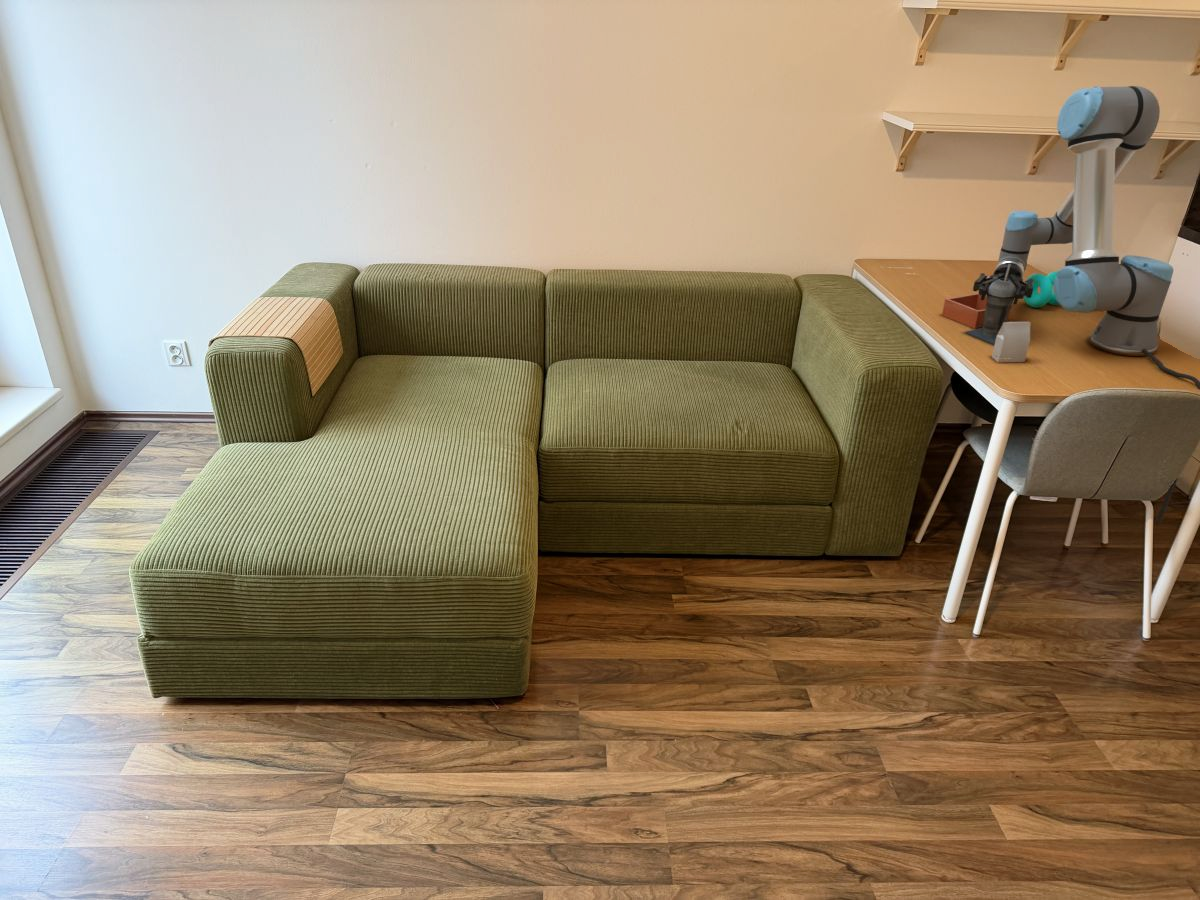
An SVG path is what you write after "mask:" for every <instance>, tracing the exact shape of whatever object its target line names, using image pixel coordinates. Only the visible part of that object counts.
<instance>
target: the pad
mask: <svg viewBox="0 0 1200 900" xmlns="http://www.w3.org/2000/svg"><path fill="white" fill-rule="evenodd" d="M965 334H966V335H969V336H971V337H973V338H975V339H978V340H980V341H982V342H985V343H988V344H990V345H993V346H994V345H995V341H996V337H995V338H994V337H987V336H985V335H983V327H981V328H976V329H971V330H967V331H965Z"/></svg>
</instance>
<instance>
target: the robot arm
mask: <svg viewBox="0 0 1200 900" xmlns="http://www.w3.org/2000/svg"><path fill="white" fill-rule="evenodd" d="M1160 109H1161V108H1160V103H1159V101H1158V99H1157V96H1156V95H1155V93H1154V92H1152V91H1151V90H1149V89H1147V88H1146V87H1143V86H1139V85H1129V86H1093V87H1086V88H1085V87H1084V88H1081V89H1077V90H1076V91H1074V92H1073V93H1071V95H1069V97H1068V98H1067V99H1066V100H1065V102H1064V104H1063V105H1062V107H1061V108H1060V111H1059V113H1058V118H1057V123H1056V129H1057V133H1058V134H1059V137H1060V138H1061V139H1063V140H1065V141H1067V151H1069V152H1070V153H1071V154H1072V155H1073V156H1074V166H1073V167H1074V169H1073V171H1074V172H1073V187H1072V189H1071V191H1070V192H1069V193H1068V195H1067V197H1065V199H1064V201H1063V202H1062V203H1061V205H1060V207H1059V208H1058V209H1057V211H1056V212H1055V213H1054V214H1053V216H1050V217H1038V213H1037V212H1035V211H1030V210H1014V211H1012V212H1010V213H1009V215H1008V217H1007V219H1006V223H1005V227H1004V235H1003V239H1002V243H1001V244H1002V245H1001V248H1000V252H999V255H998V259H997V263H996V267H995V269H994V271H993V274H991V275H990V276H988V275H987V274H986V273H980V274H979V277H978V278H977V279H976V280H975V281H974V282H973V287H972V291H973V292H977V293H979V295H982V296H981V300H983V301H984V299H985V296H986V295H987V294H986V292H987V290H988V288H989V286H990V285H991V284H992V283H993V282H994V281H996V280H998V279H1005V276H1006V272H1007V269H1008V265H1009V264H1011V265H1010V269H1009V272H1008V276H1007V279H1008V280H1010V281H1012V282H1013V284H1014V285H1015V288H1016V295H1015V298H1014V301H1013V303H1012V304H1013V305H1017V304H1018V302H1019V300H1024V298H1023V297H1024V296H1026V297H1027V298H1031V296H1032V292H1033V279H1029V280H1026V279H1025V280H1024V278H1023V277H1024V274H1025V273H1024V272H1025V271H1026V268H1027V266H1028V258H1029V254H1030V251H1031V247H1032V246H1039V245H1041V246H1042V245H1066V244H1072V249H1071V254H1070V255H1069V256H1068V257H1067V258H1066V259H1065V260H1064V267H1062V268H1061V269H1059V270H1058V271H1059V272H1058V273H1057V277H1055V280H1054V285H1053V291H1054V293H1055V297H1056V299H1057V301H1058V303H1059V306H1061V308H1063V309H1064V310H1065V311H1067V312H1070V313H1083V314H1089V313H1096V312H1105V315H1103V317H1102V318H1101V320H1100V321H1099V323H1098V324H1097V325H1096V327H1095V328H1094V330H1093V331H1092V333H1091V335H1090V338H1089V343H1090V344H1091V345H1092V346H1093V347H1095V348H1096V349H1098V350H1101V351H1104V352H1108V353H1110V354H1115V355H1121V356H1127V357H1128V356H1129V357H1145V356H1146V357H1148V359H1150V360H1151V361H1152V362H1154V363H1155V364H1156V365H1157V366H1158V367H1159V369H1160V370H1162V371H1163V372H1165V373H1167V374H1170V375H1172V376H1174V377H1177V378H1182V379H1186V380H1188V381H1189V380H1190V381H1191V382H1193V383H1194V384H1195V385H1196V387H1197V389H1198V390H1200V379H1198V378H1197V377H1195V376H1194V375H1190V374H1186V373H1181V372H1178V371H1175V370H1173V369H1171V368H1168V367H1166V366H1165V365H1164V363H1163V362H1162V361H1161V360H1160V359H1158V357H1156V356H1155V355H1154V354H1156V353H1157V350H1158V347H1159V331H1158V329H1159V328H1158V321H1159V318H1160V314H1161V311H1162V310H1163V306H1164V303H1165V300H1166V298H1167V294H1168V291H1169V289H1170V286H1171V284H1172V278H1173V274H1174V268H1173V266H1172V265H1171V264H1170V263H1168V262H1165V261H1162V260H1159V259H1157V258H1151V257H1146V256H1141V255H1140V256H1139V255H1134V254H1133V255H1132V254H1131V255H1130V254H1128V255H1124V256H1123V257H1122V258H1121V259H1120V255H1119V254H1118V253H1117V252H1116V251H1114V249H1113V234H1114V202H1115V201H1114V200H1115V179H1116V178H1117V177H1118V176H1119V174H1120V173H1121V172H1122V170H1123V169H1124V168H1125V167H1126V165H1127V164H1128V162H1129V161H1130V160H1131V158H1132V157H1133V155H1134V154H1135V153H1136V152H1137V151H1140V150H1143V149H1144V148H1145V146H1146V145H1147V144H1148V142H1149V141H1150V140H1151V138H1152V136H1153V135H1154V133H1155V131H1156V129H1157V126H1158V124H1159V121H1160V112H1161V111H1160ZM1178 479H1179V477H1178V478H1177V479H1176V480H1175V481H1174V483H1173V484H1172V485H1171V486H1170V485H1169V487H1170V488H1168V489H1167V492H1166V494H1165V497H1164V500H1163V502H1162V504H1161V508H1160V510H1159V513H1158V515H1157V518H1156V521H1155V523H1156V524H1159V525H1160V524H1161V523H1162V520H1163V517H1164V514H1165V512H1166V509H1167V507H1168V504H1169V502H1170V500H1171V497H1172V494H1173V491H1174V489H1175V487H1176V485H1177V482H1178Z"/></svg>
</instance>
